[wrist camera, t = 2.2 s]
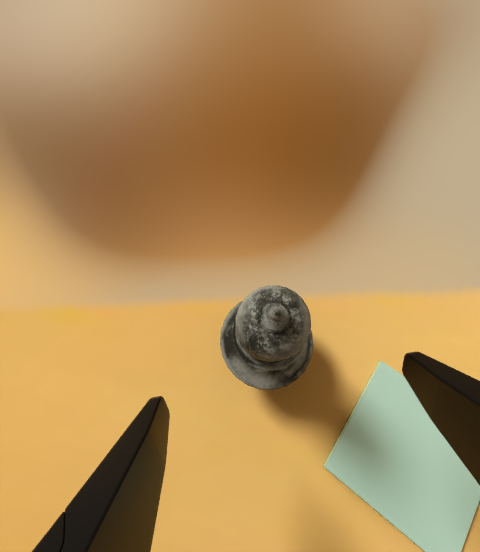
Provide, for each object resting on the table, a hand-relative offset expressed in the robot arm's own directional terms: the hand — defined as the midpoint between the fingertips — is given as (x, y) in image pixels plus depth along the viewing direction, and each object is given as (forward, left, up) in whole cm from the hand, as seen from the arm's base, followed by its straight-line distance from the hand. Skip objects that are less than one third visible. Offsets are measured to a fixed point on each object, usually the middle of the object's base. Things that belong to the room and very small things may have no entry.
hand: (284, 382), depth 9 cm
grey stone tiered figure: (+2, -2, -10) cm, 10 cm away
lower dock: (-10, -2, -10) cm, 14 cm away
